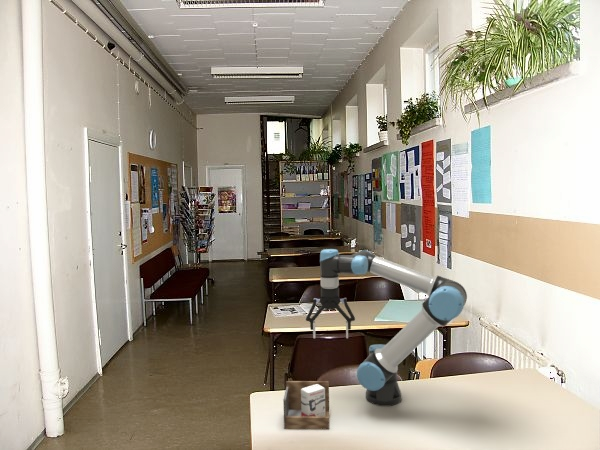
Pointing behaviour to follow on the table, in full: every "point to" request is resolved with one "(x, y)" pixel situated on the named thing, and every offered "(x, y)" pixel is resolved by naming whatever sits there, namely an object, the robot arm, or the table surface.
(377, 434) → the table surface
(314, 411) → the ink box
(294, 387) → the open wooden box
